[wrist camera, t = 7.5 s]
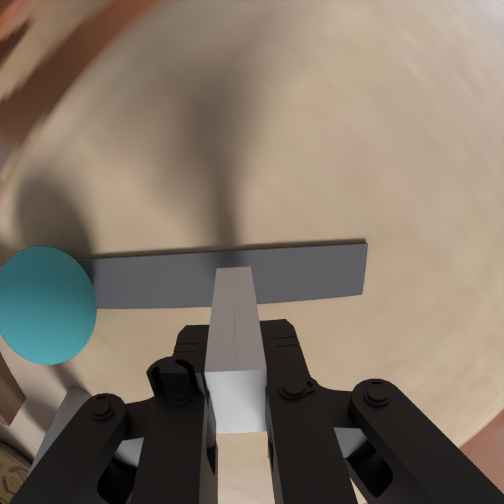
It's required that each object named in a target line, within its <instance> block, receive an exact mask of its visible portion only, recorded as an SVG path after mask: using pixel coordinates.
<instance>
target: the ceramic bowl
mask: <svg viewBox="0 0 504 504" xmlns="http://www.w3.org/2000/svg"><path fill="white" fill-rule="evenodd" d="M31 466H32V465H31V464H30V463H29V461H28V460H27V459H25V458H24V457H23V456H22V455H21V454H19V453H18V452H16V451H15V450H14V449H12V448H11V447H9V446H7V445H5V444H3V443H0V504H9V502H10V501H11V500H12V498H13V497H14V495H15V494H16V492H17V491H18V490H19V488H20V487H21V485H22V484H23V483H24V481H25V480H26V478H27V477H28V476H27V475H28V473H29V471H30V468H31Z"/></svg>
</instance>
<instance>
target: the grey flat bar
mask: <svg viewBox="0 0 504 504" xmlns="http://www.w3.org/2000/svg"><path fill="white" fill-rule="evenodd" d="M367 247H368V244H367V243H352V244H333V245H315V246H297V247H279V248H261V249H243V250H226V251H209V252H191V253H174V254H157V255H140V256H124V257H107V258H91V259H75V260H76V261H77V262H78V263H79V264H80V265H81V267H82V268H83V269H84V271H85V272H86V274H87V276H88V277H89V279H90V281H91V284H92V286H93V289H94V293H95V298H96V308H97V309H150V308H190V307H212V301H213V293H214V285H215V278H216V270H217V268H233V267H250V266H251V270H252V277H253V284H254V290H255V297H256V303H257V304H266V303H280V302H292V301H304V300H315V299H326V298H336V297H345V296H354V295H362V292H363V284H364V276H365V267H366V258H367Z"/></svg>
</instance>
